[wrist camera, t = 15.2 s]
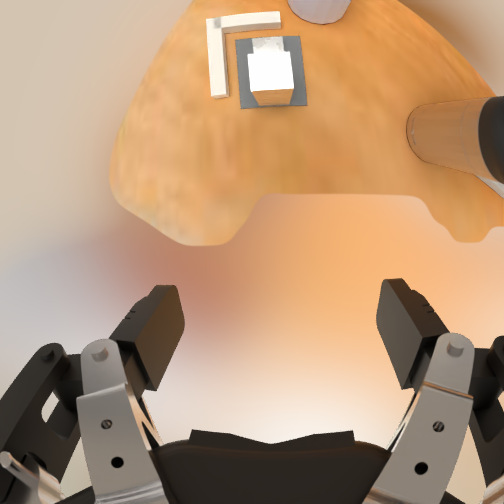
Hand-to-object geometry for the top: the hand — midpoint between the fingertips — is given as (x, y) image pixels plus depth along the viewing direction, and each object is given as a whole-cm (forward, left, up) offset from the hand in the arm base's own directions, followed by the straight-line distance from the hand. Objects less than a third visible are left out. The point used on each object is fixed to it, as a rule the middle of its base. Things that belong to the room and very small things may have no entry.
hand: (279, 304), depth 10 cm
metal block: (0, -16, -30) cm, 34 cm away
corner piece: (+3, -19, -30) cm, 36 cm away
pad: (0, -16, -30) cm, 34 cm away
